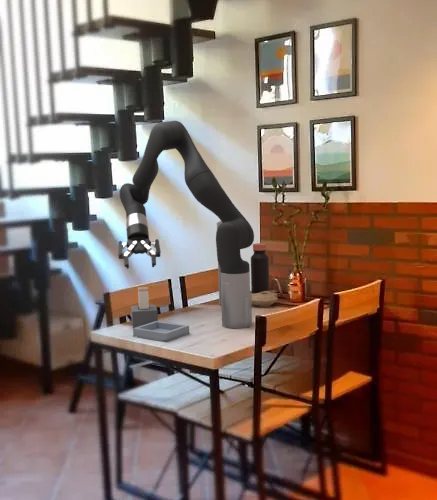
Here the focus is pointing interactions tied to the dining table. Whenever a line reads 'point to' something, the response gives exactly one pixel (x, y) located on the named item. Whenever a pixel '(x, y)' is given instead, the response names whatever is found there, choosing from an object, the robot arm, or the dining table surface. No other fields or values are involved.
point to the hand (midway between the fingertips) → (140, 266)
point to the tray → (161, 331)
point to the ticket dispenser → (143, 315)
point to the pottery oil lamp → (263, 298)
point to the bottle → (259, 269)
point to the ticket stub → (143, 298)
